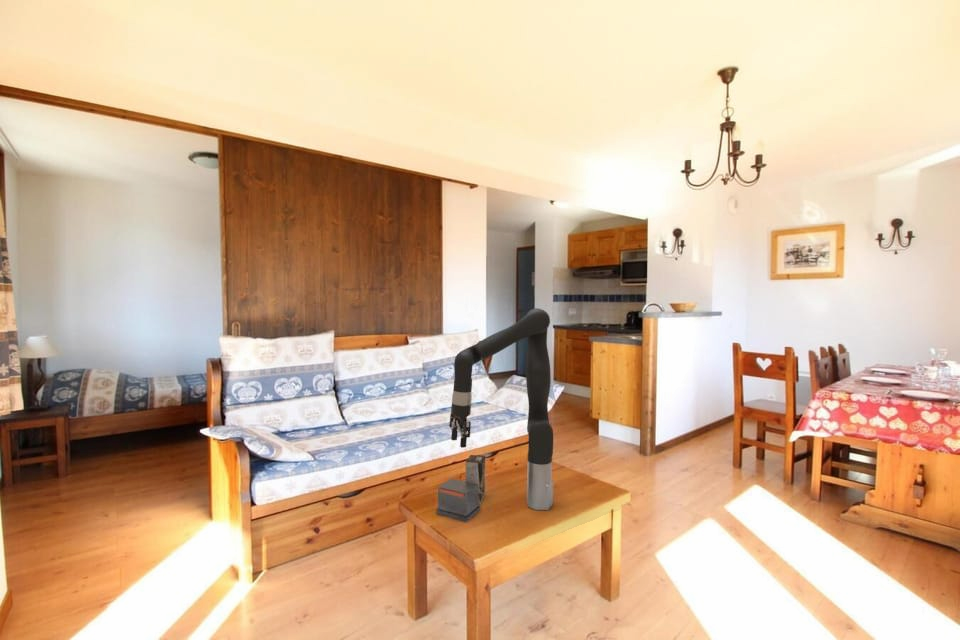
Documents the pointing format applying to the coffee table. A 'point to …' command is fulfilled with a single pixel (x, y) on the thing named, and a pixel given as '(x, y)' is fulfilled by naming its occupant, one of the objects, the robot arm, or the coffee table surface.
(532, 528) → the coffee table surface
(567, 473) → the coffee table surface
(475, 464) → the coffee box
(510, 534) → the coffee table surface
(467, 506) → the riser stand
